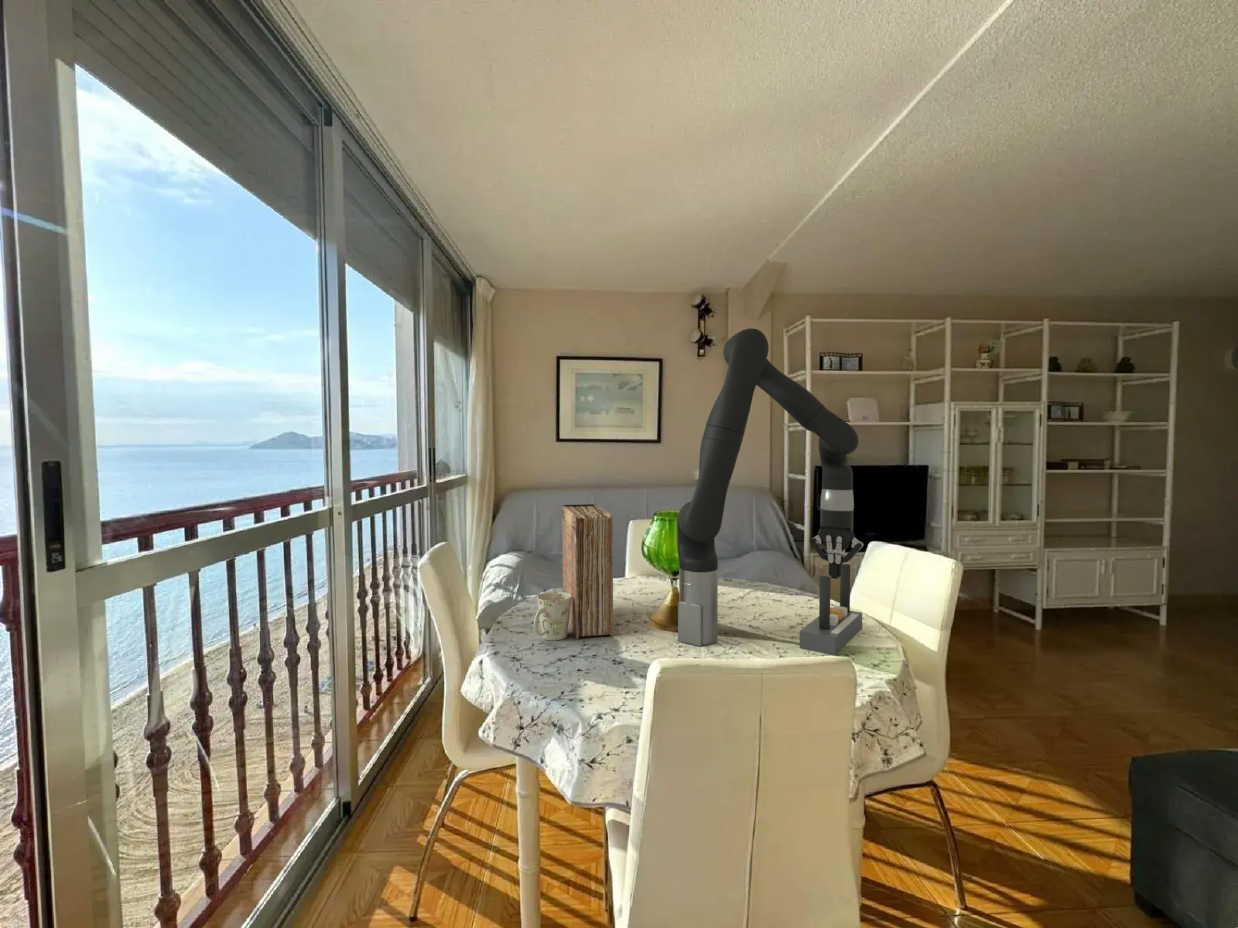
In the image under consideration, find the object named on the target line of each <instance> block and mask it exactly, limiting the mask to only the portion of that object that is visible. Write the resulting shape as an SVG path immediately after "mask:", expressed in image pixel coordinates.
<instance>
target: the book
mask: <svg viewBox="0 0 1238 928" xmlns="http://www.w3.org/2000/svg"><path fill="white" fill-rule="evenodd" d="M561 541H562V543H561V544H562V546H561V549H562V552H561V553H562V556H561V557H562V561H561V563H562V567H561V568H562V592H564V593H568V594H570V595H571V607H570V615H569V623H568V626H569V627H570V630H571V632H572V634H573V636H574V638H575V640H576V641H578V640H579V638H580V637H593V636H606V635H607V636H608V635H609V636H610V637H614V515H613V514H612V513H611V512H608V511H607V510H605V509H603V508H602V507H600V506H598V505H596V504H594V503H592V504H562V505H561Z"/></svg>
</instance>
